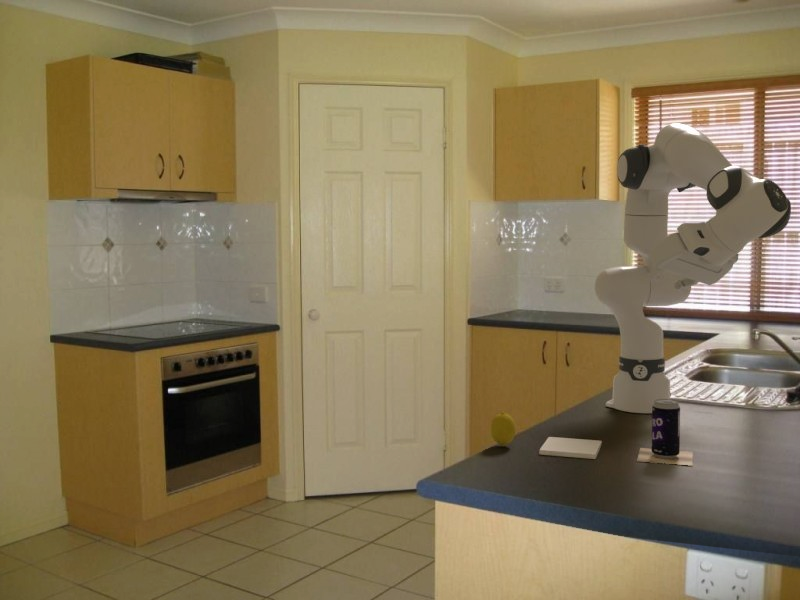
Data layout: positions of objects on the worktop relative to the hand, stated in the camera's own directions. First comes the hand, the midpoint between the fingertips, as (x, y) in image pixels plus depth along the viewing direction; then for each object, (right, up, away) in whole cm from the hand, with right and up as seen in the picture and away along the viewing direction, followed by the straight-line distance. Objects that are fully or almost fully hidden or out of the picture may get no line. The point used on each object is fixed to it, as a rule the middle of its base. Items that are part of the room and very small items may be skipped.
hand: (663, 283), depth 175 cm
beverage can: (0, -37, -1) cm, 37 cm away
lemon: (-33, -37, +9) cm, 51 cm away
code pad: (0, -37, -1) cm, 37 cm away
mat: (-19, -37, +6) cm, 42 cm away
